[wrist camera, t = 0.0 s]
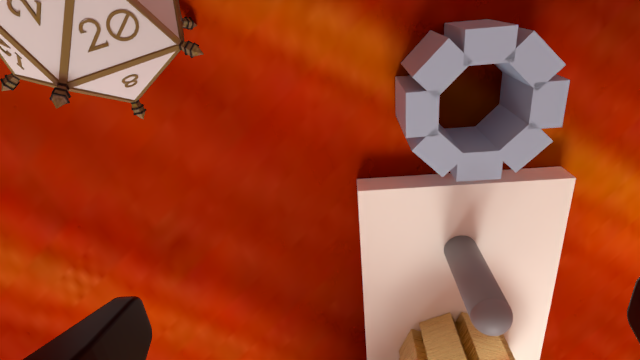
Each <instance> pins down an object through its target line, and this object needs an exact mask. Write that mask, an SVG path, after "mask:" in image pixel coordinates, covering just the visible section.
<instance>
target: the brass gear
mask: <svg viewBox="0 0 640 360" xmlns="http://www.w3.org/2000/svg"><path fill="white" fill-rule="evenodd" d="M419 325H420V329H421V331H417V330H414V329H411V330H410V332H409V334H408V335H407V337H406V339H405V341H404V342H403V344H402V346H401V348H400V350H399V354H400V358H399V360H515V358H514V356H513V354H512V352H511V350H510V348H509V345H508V343H507V341H506V339H505V337H504V335H503V334H502V335H499V336H489V335H485V334H483V333H481V332H480V331H478V330H477V329H476V328H475V327H474V325H473V324H472V322H471V320H470V317H469V315H468V313H464V312H461V314H460V315H459V317H458V318H457V320H456V322H455V321H454V319H453V317H452V315H451V313H450V312H449V313H446V314H443V315H441V316H438V317H435V318H432V319H429V320H426V321H423V322H420V323H419Z"/></svg>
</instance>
